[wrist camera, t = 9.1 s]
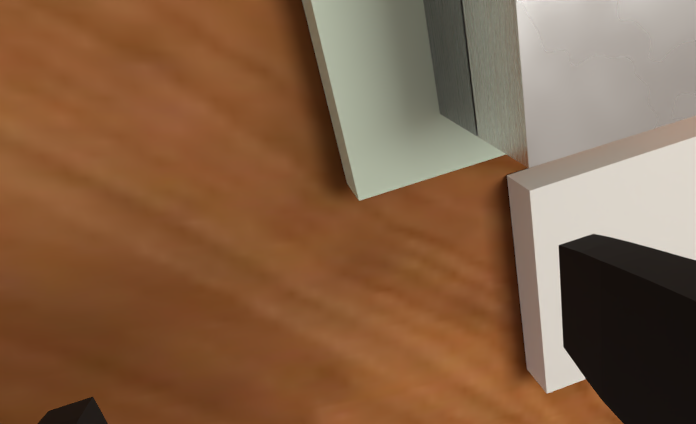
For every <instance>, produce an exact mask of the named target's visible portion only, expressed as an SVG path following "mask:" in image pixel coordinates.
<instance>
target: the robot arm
mask: <svg viewBox="0 0 696 424" xmlns="http://www.w3.org/2000/svg"><path fill="white" fill-rule="evenodd" d="M559 266H560V287H561V308H562V329H563V347H564V349H565V350H566V351H567V353H568V354H569V356H570V357H571V358H572V360H573V361H574V363H575V364H576V366H577V367H578V368H579V370H580V371H581V373H582V374H583V375H584V377H585V378H586V379H587V381H588V382H589V383H590V385H591V386H592V387H593V389H594V390H595V391H596V393H597V394H598V395H599V397H600V398H601V399H602V400H603V402H604V403H605V404H606V405H607V406H608V407H609V408H610V409H611V410H612V411H613V413H614V414H615V415H616V416H617V417H618V418H619V419H620V420H621V421H622V422H623V423H624V424H696V260H693V259H689V258H686V257H682V256H679V255H675V254H671V253H668V252H664V251H661V250H657V249H654V248H650V247H646V246H643V245H639V244H635V243H632V242H628V241H624V240H620V239H616V238H612V237H607V236H602V235H597V234H591V235H588V236H585V237H582V238H579V239H576V240H573V241H570V242H567V243H564V244H561V245H559ZM38 424H108V423H107V421H106V420H105V418H104V416H103V414H102V412H101V411H100V409H99V407H98V405H97V403H96V401H95V400H94V398H93V397H91V398H87V399H84V400H81V401H78V402H75V403H72V404H69V405H66V406H63V407H60V408H57V409H54V410H51V411H48V412H47V414H46V415H45V416H44V417H43V418H42V419H41V421H40V422H39V423H38Z"/></svg>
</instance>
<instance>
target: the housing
mask: <svg viewBox="0 0 696 424" xmlns="http://www.w3.org/2000/svg"><path fill="white" fill-rule="evenodd" d="M423 3H424V10H425V17H426V23H427V30H428V37H429V44H430V50H431V57H432V64H433V71H434V77H435V84H436V91H437V98H438V104H439V111H440V114H441V115H443V116H444V117H446V118H448V119H449V120H451V121H453V122H454V123H456V124H457V125H459V126H461V127H462V128H464V129H466V130H467V131H469V132H471V133H472V134H474V135H475V136H478V137H479V138H480V139H482V140H484V141H485V142H487V143H489V144H490V145H492V146H494V147H495V148H497V149H498V150H500V151H502V152H503V153H505V154H507V155H508V156H510V157H512V158H513V159H515V160H516V161H518V162H520V163H521V164H523V165H525V166H526V167H528V168H531V167H534V166H537V165H540V164H543V163H547V162H550V161H553V160H556V159H559V158H563V157H566V156H569V155H572V154H575V153H578V152H582V151H585V150H588V149H591V148H594V147H598V146H601V145H604V144H607V143H610V142H613V141H617V140H620V139H623V138H626V137H629V136H633V135H636V134H639V133H642V132H645V131H648V130H652V129H655V128H658V127H661V126H664V125H668V124H671V123H674V122H677V121H680V120H683V119H687V118H690V117H693V116H696V0H423Z"/></svg>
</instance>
